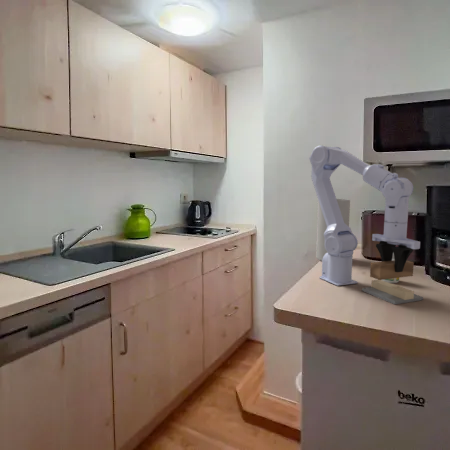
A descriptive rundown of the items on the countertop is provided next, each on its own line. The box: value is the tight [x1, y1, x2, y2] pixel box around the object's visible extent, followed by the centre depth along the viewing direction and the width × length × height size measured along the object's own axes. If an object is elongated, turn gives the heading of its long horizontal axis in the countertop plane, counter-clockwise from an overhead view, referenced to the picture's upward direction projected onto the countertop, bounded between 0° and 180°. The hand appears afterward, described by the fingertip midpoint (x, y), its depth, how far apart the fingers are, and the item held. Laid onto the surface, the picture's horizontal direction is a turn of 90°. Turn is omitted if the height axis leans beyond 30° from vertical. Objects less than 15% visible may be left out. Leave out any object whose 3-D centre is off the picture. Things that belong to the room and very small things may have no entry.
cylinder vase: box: [315, 198, 351, 262], centre depth 138 cm, size 12×12×25 cm
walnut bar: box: [369, 260, 415, 280], centre depth 94 cm, size 4×12×4 cm, turn 110°
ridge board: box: [361, 279, 424, 305], centre depth 95 cm, size 12×10×3 cm
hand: (392, 269), depth 94 cm, fingers closed on walnut bar, 3 cm apart
